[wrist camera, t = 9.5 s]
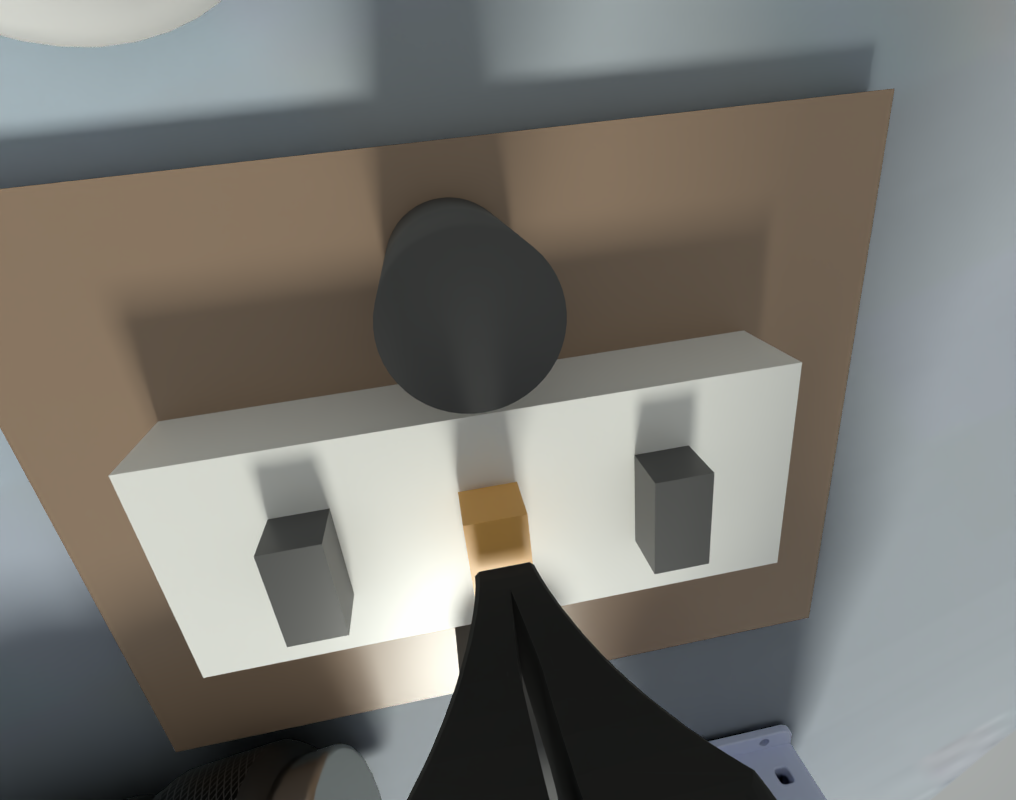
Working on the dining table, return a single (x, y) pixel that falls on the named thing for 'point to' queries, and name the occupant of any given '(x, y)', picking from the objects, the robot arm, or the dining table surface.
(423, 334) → the post
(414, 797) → the robot arm
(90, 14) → the flower in vase
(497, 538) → the orange block
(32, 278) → the breaker panel
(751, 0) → the dining table surface
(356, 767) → the muzzle brake
